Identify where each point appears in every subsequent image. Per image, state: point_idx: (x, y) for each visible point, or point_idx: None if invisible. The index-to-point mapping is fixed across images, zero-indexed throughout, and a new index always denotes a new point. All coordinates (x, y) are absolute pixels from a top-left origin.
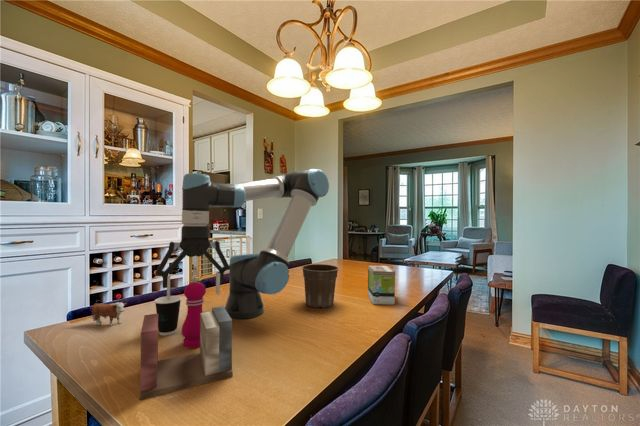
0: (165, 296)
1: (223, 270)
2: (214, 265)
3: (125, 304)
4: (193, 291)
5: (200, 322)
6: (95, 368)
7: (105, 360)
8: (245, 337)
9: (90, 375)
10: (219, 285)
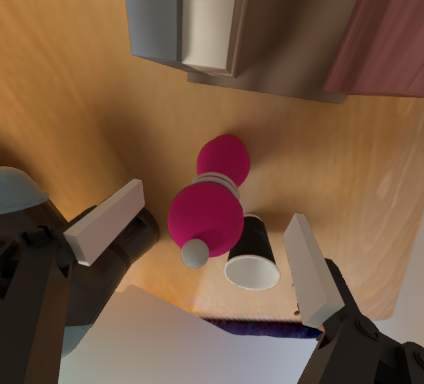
0: (250, 289)
1: (32, 242)
2: (43, 289)
3: (296, 312)
4: (218, 196)
5: (229, 65)
6: (397, 161)
7: (368, 182)
8: (138, 123)
9: (420, 136)
10: (112, 195)
